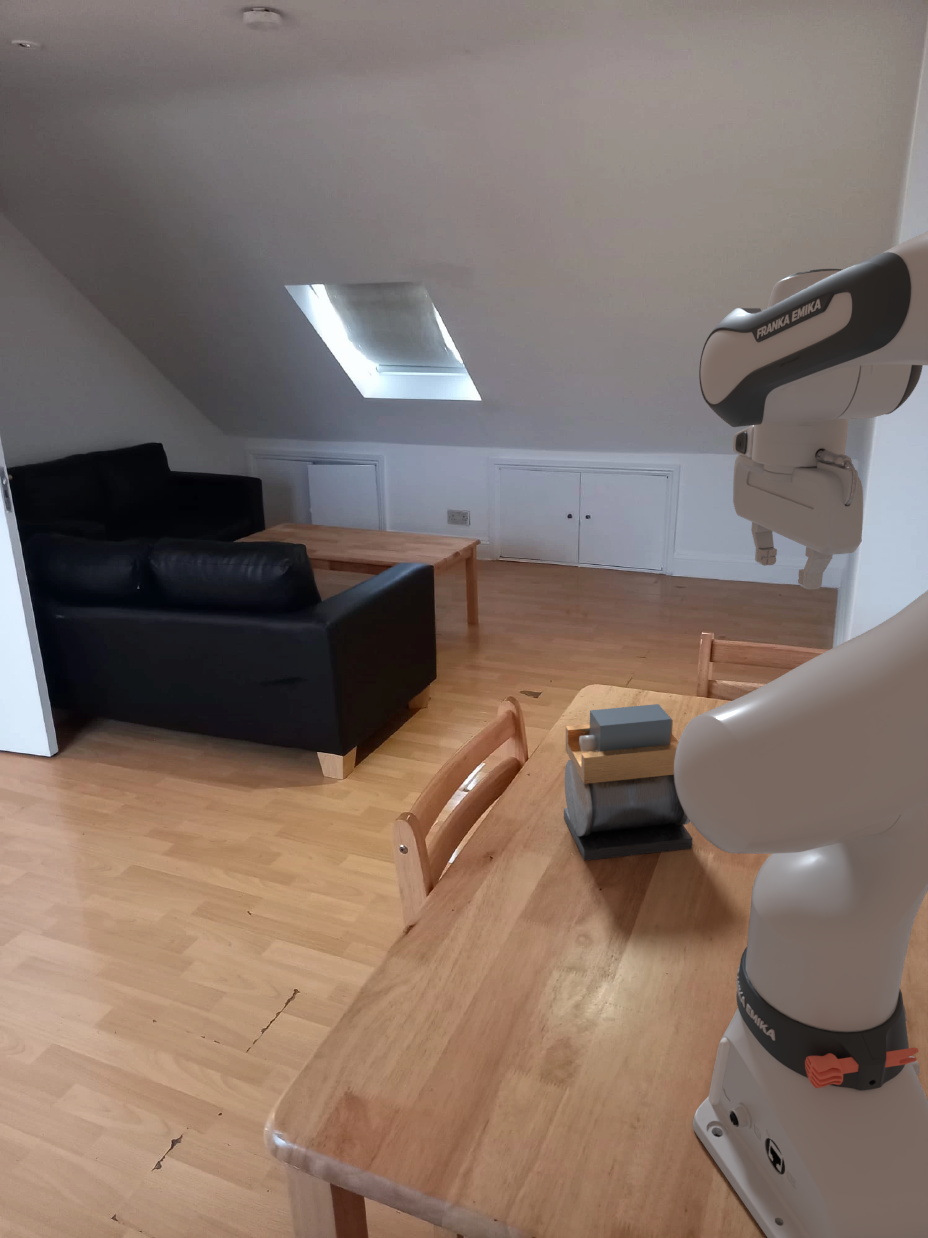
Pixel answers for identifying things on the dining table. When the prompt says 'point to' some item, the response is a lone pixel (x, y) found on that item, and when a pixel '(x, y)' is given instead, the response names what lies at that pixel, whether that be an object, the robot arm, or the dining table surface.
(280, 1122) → the dining table surface
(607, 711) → the blue-grey rectangular block
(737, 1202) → the dining table surface
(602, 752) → the wood-topped grey cylinder
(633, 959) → the dining table surface
